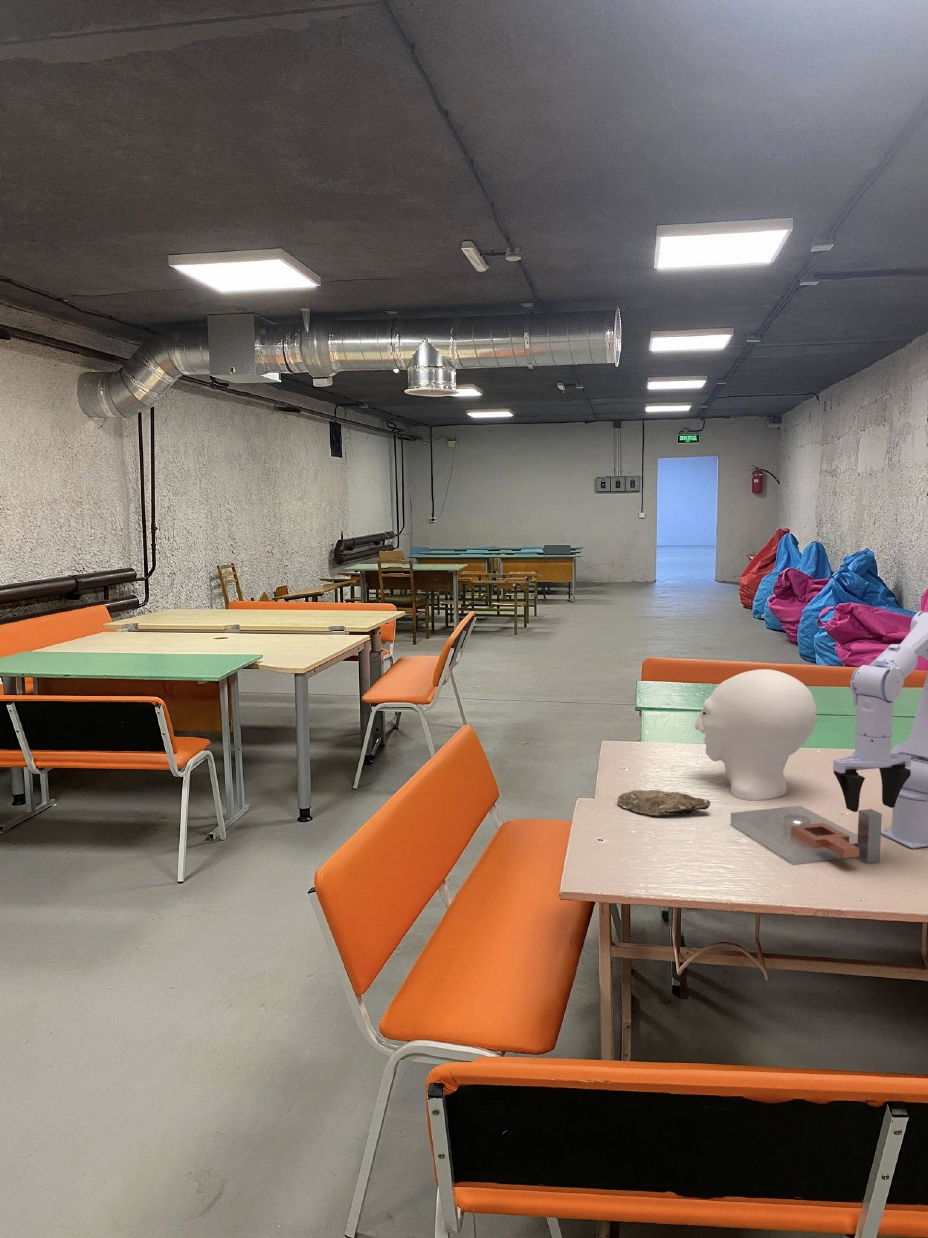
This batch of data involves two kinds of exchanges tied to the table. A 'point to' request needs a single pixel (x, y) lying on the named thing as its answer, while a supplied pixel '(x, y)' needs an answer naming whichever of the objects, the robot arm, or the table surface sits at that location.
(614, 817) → the table surface
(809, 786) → the table surface
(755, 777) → the head sculpture
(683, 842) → the table surface
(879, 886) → the table surface
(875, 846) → the grey rectangular block
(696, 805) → the rock
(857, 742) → the robot arm
